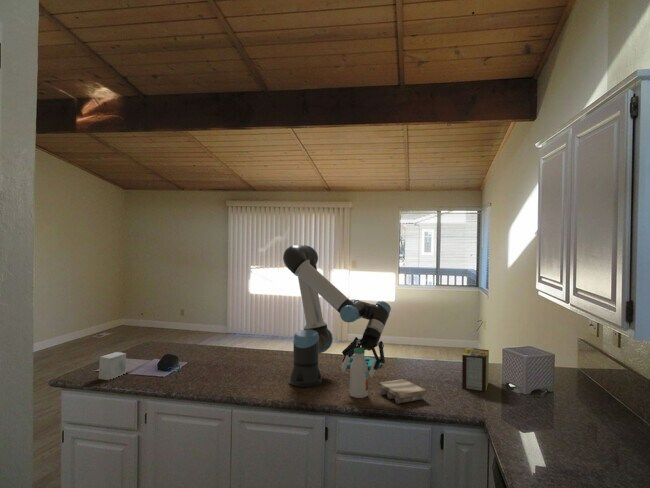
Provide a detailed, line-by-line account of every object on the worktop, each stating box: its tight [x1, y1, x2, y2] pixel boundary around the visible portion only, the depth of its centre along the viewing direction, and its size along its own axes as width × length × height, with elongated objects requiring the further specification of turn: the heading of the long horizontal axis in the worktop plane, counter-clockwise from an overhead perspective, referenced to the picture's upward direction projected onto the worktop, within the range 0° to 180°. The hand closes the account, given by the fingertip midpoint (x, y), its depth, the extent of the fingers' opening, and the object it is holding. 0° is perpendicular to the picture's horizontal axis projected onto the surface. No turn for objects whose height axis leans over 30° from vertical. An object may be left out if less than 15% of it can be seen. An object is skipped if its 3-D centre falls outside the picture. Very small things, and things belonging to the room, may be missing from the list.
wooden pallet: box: [378, 378, 427, 405], centre depth 182 cm, size 16×13×4 cm
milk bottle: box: [349, 348, 369, 399], centre depth 183 cm, size 8×8×20 cm
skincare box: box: [98, 351, 127, 381], centre depth 204 cm, size 10×6×10 cm, turn 161°
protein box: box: [461, 347, 490, 393], centre depth 199 cm, size 10×15×16 cm
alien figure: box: [340, 356, 383, 370], centre depth 231 cm, size 20×2×20 cm
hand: (356, 372), depth 181 cm, fingers open, 13 cm apart
